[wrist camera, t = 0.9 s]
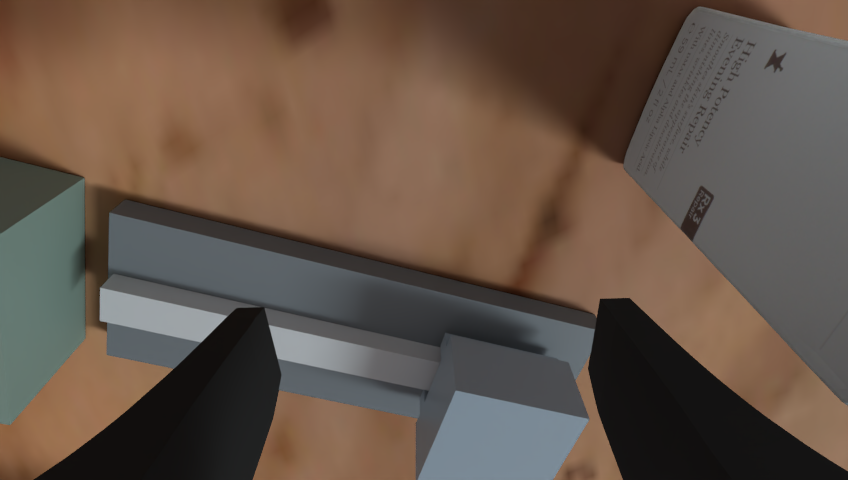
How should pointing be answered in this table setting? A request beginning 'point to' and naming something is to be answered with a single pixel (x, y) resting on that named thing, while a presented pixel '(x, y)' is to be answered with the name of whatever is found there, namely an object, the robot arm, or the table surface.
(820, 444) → the table surface
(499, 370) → the carriage
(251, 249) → the rail base
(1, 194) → the cabinet
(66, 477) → the robot arm
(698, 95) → the skincare box
